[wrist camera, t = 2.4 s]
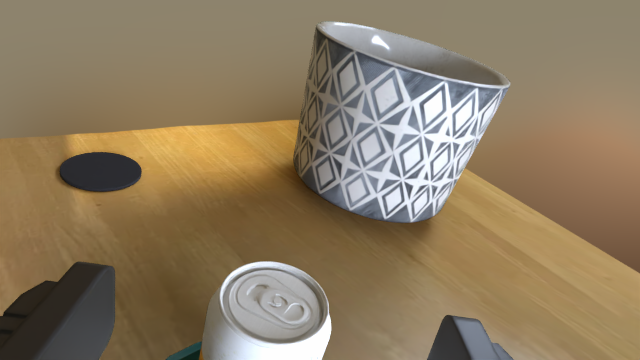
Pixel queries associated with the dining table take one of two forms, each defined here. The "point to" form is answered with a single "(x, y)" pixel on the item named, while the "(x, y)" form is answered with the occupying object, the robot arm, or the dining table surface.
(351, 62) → the planter
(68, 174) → the coaster
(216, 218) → the dining table surface
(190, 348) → the bowl
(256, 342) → the beer can
